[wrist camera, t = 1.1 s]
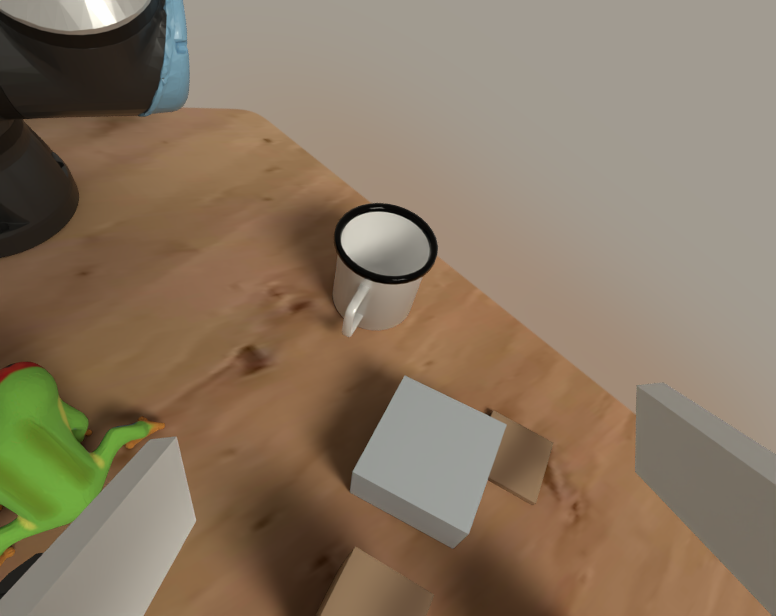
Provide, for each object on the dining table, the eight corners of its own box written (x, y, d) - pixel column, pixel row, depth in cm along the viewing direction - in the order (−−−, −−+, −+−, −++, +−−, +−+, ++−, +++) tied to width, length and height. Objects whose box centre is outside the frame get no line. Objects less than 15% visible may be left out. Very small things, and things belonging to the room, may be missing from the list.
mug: (351, 251, 52) (361, 188, 45) (428, 285, 52) (451, 227, 44) (297, 330, 45) (299, 271, 38) (386, 372, 44) (406, 319, 37)
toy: (104, 375, 40) (55, 305, 31) (183, 442, 38) (154, 386, 29) (-97, 532, 31) (-238, 492, 23) (-9, 628, 29) (-127, 623, 21)
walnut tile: (468, 469, 40) (470, 467, 40) (491, 412, 44) (493, 410, 43) (532, 505, 40) (535, 503, 39) (550, 445, 43) (553, 442, 43)
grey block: (349, 492, 38) (352, 471, 34) (397, 402, 43) (404, 375, 39) (453, 548, 36) (468, 534, 32) (489, 447, 41) (506, 424, 37)
